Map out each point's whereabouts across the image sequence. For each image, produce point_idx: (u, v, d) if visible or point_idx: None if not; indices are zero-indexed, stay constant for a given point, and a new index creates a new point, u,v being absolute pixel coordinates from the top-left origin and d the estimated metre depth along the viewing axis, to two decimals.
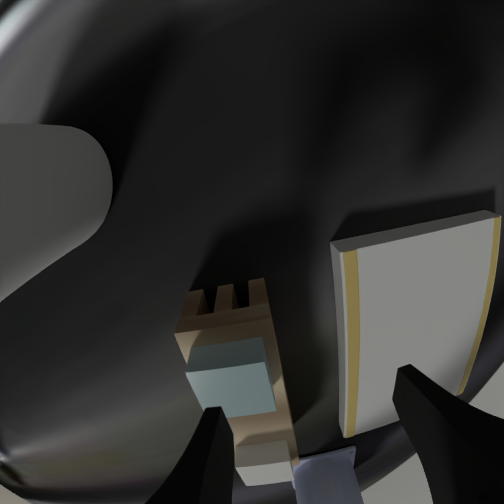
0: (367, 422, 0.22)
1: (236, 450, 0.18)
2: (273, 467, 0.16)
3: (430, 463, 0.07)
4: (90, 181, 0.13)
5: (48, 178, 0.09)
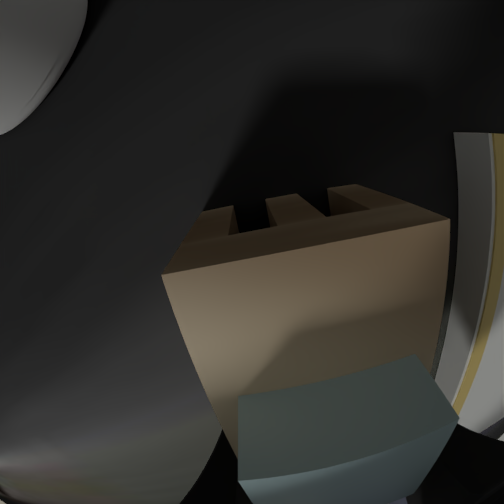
0: None
1: None
2: None
3: None
4: None
5: None
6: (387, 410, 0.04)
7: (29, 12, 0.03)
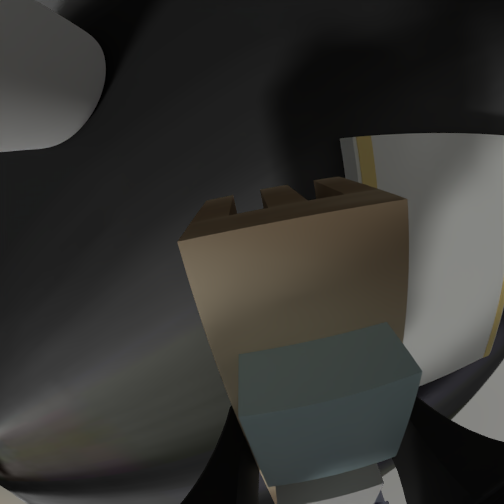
0: None
1: None
2: (349, 499, 0.07)
3: (405, 474, 0.07)
4: (82, 56, 0.10)
5: (43, 27, 0.06)
6: (360, 363, 0.06)
7: (77, 82, 0.10)
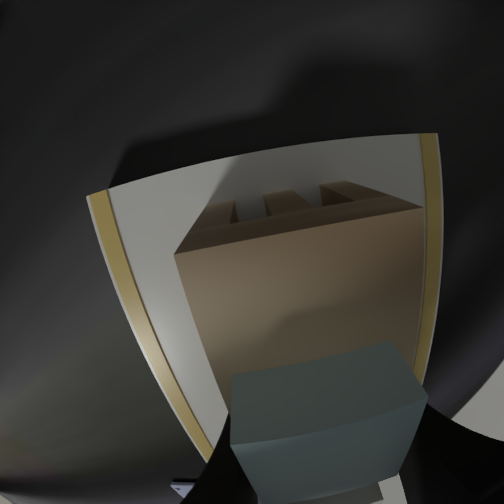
0: None
1: None
2: None
3: (406, 474, 0.07)
4: None
5: None
6: (362, 387, 0.05)
7: None
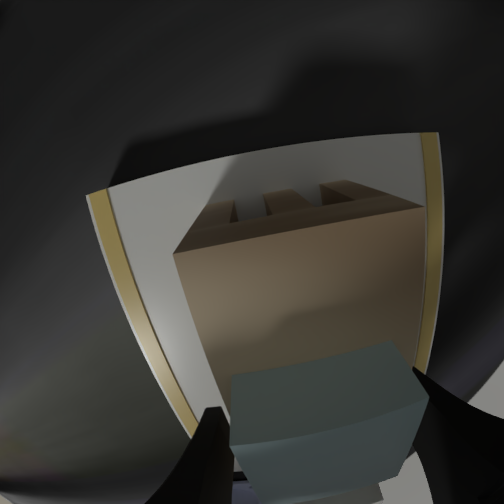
0: None
1: None
2: None
3: (430, 463, 0.07)
4: None
5: None
6: (362, 387, 0.05)
7: None
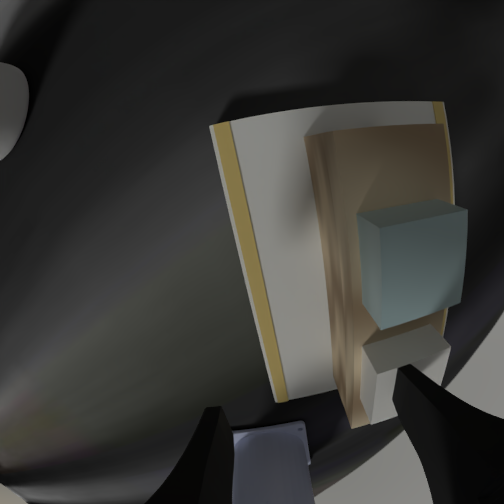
0: (302, 382, 0.19)
1: (366, 350, 0.12)
2: (426, 367, 0.10)
3: (430, 463, 0.07)
4: (2, 92, 0.10)
5: None
6: (432, 209, 0.09)
7: None
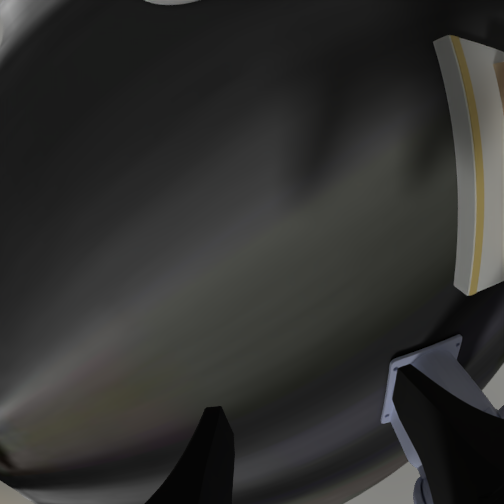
0: (488, 270, 0.17)
1: None
2: None
3: (430, 463, 0.07)
4: None
5: None
6: None
7: None
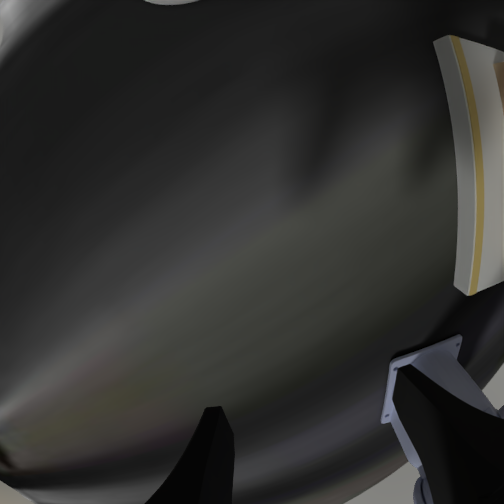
0: (488, 270, 0.17)
1: None
2: None
3: (430, 463, 0.07)
4: None
5: None
6: None
7: None
